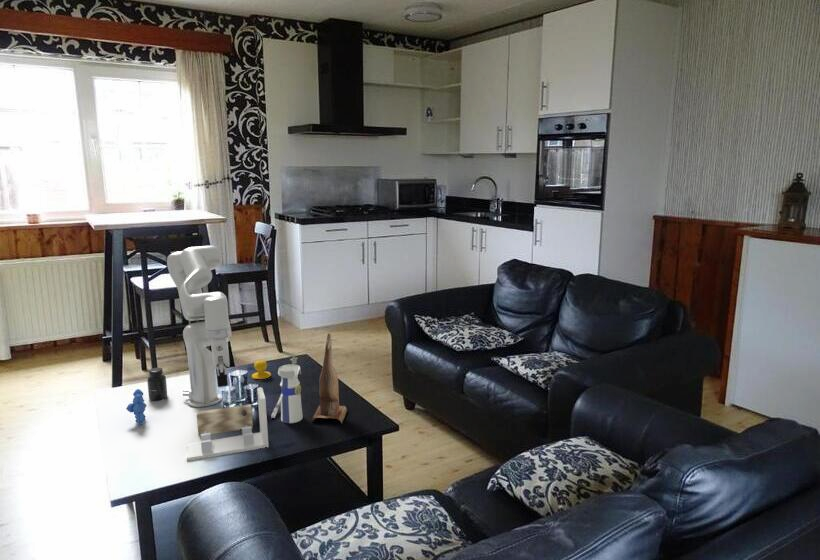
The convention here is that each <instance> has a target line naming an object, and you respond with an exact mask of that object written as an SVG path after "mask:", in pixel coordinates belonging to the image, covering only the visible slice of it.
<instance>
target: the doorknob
mask: <svg viewBox="0 0 820 560" xmlns="http://www.w3.org/2000/svg"><path fill="white" fill-rule="evenodd" d="M253 368H254V369H255V370H256V371H257V372H254V373H252V374H251V379H252V378H253V379H252V380H254V379H265V378H268V377H270V376H271V377H272V373H271V372H270V371H266V369H267V368H268V363H267V361H265V360H264V359H260V360H257V361H255V362H254V364H253ZM271 377H270V378H271ZM268 379H269V378H268ZM265 380H266V379H265Z"/></svg>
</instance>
